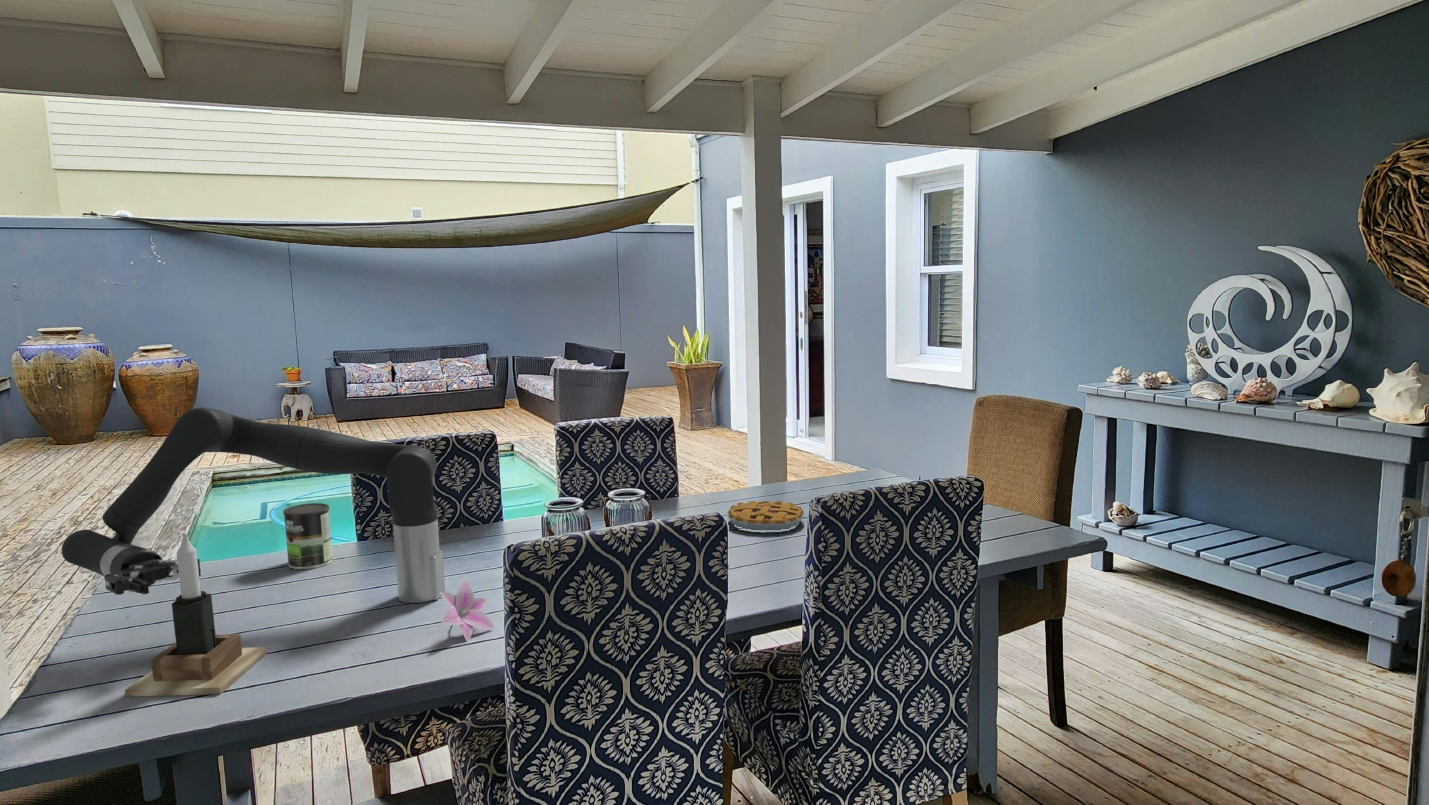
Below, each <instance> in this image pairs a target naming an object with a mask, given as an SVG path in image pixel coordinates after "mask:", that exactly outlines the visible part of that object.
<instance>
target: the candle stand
mask: <svg viewBox="0 0 1429 805" xmlns="http://www.w3.org/2000/svg"><path fill="white" fill-rule="evenodd" d="M216 644H217V646H216V647H215V648H213V649H212V650H211V651H210V652H208V653H207V654H201V655H177V647H176V641H175V642H174V643H172V644H171V645H170V646H168V647H166V648H165V649H164V650H163V651H161V652H159V653H158V654H157V655H155V656H154V657H153V658H151V659H150V661H151V669H152V670H150V671H149V672H147V673H146V674H144V675H143V676H142V677H141V678H140V679H139V678H138V680H137V681H135V682H133V683H132V684H131V685H130V686H128V687H127V688H125V689H124V695H125V697H126V698H129V697H161V696H163V697H164V696H166V697H167V696H169V697H170V696H198V695H199V696H200V695H222V694H223V693H224V692H225V691H226V690H227V689H229V687H230V686H232V685H233V684H234V683H235V682H236V681H238V680H239V679H240V678H241V677H242V676H243V675H244V674H246V673H247V672H248V671H249V670H250V669H251V668H252V667H254V666H255V664H257V663H258V662H259V661H260V660H261V659H262V658H264V657H266V655H267V654H268V648H267V646H263V647H262V646H261V647H242V638H241V634H240V633H235V634H233V633H232V634H229V633H228V634H227V633H226V634H216Z"/></svg>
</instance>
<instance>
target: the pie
mask: <svg viewBox="0 0 1429 805" xmlns="http://www.w3.org/2000/svg"><path fill="white" fill-rule="evenodd" d="M726 514H727V518H728V519H729V520H730V521H731V522H730V523H732V525H733V524H734V525H736V526H738V527H742V528H745V529H751V530H781V529H789V528H791V527H793V526H796V525H797V524H798V523H799V522H800V523H801V521H802V519H803V518H804V517H805V513H804V510H803V509H802V507H801V506H800V505H795V504H794V503H792V502H783V501H781V500H776V501H769V500H762V501H755V500H752V501H751V500H750V501H748V502H738V503H737V504H735V505H734V504H733V505H731V506H730V509H728V511H727V513H726ZM800 523H799V524H800Z"/></svg>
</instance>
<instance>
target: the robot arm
mask: <svg viewBox="0 0 1429 805" xmlns="http://www.w3.org/2000/svg"><path fill="white" fill-rule="evenodd" d="M204 453H226V454H237V455H246V456H252V457H257V458H261V459H263V460H265V461H268V462H272V463H275V464H277V465H280V466H283V467H285V468H286V467H287V468H291V469H294V470H295V469H296V470H299V471H305V472H309V473H310V472H311V473H316V474H326V475H348V474H351V475H352V474H364V475H365V474H366V475H372V476H373V475H374V476H379V477H382V478H386V486H387V496H388V497H387V498H388V506H389V512H390V514H391V517H392V526H393V543H394V554H395V556H394V557H395V567H396V568H395V570H396V571H395V572H396V582H397V583H396V584H397V595H398V601H400V602H402V603H407V604H419V603H420V604H421V603H426V602H429V601H436V600H437V601H438V600H439V598H440V597H442V596H441V594H440V592H445V591H446V585H445V583H446V581H445V567H444V565H445V564H444V552H443V550H442V549H440V537H439V520H438V509H437V506H436V504H435V501H434V488H433V478H434V476H435V474H436V472H437V470H438V469H437V468H438V464H437V459H436V458H435V455H433V454H432V452H431V451H429V450H428V449H427V448H424V447H422V446H417V445H411V444H409V445H408V444H407V445H406V444H397V443H388V442H387V443H386V442H379V441H378V442H377V441H372V440H368V439H363V438H360V437H356V436H353V435H349V434H343V433H340V432H339V433H338V432H335V431H331V430H326V429H320V428H315V427H310V426H302V425H295V424H287V423H286V424H285V423H266V422H260V421H256V420H252V419H248V418H244V417H241V416H238V415H234V414H231V413H228V412H225V411H222V410H219V409H216V408H209V407H195V408H191V409H188V410H186V411H185V412H183V413H182V414H181V415H180V417H178V419H177V420H176V422H175V423H174V425H173V427H172V428H171V430H170V431H169V432H168V434H167V436H166V437H165V439H164V441H163V442H162V444H161V445H160V447H159V448H158V450H157V451H156V452H155V454H154V455H153V456H152V457H151V459H150V460H149V462H148V463H147V464H146V466H145V467H144V468H143V469H142V470H141V472H140V473H139V474H138V475H137V476H136V478H135V479H134V480H132V482H131V483H130V484H129V485H128V486H127V487H126V488H125V490H123V491H122V493H121V494H119V496H118V497H117V498H116V499H115V500H114V501H113V502H112V503H111V504H110V506H109V507H108V508H107V509H106V510H105V512H104V513H103V514H102V516H101V517H102V521H103V523H104V524H105V525H106V526H107V527H108V528H109V529H111V531H113V532H114V533H115V534H114V535H113V537H112V538H111V537H109V536H106V535H104V534H101V533H99V532H96V531H94V530H91V529H86V528H85V529H80V530H76V531H74V532H72V533H70V534H69V535H68V536H67V537H66V539H64V541H63V542H62V544H61V545H62V546H61V555H62V557H63V560H65V561H66V562H67V563H69V564H71V565H75V566H77V567H80V568H81V569H85V570H88V571H91V572H93V573H96V574H98V575H100V576H102V577H104V583H105V590H107V591H109V592H111V593H113V594H115V595H117V596H120V595H123V594H125V592H126V591H128V593H136V594H142V595H147V594H149V593H150V590H149V589H150V587H151V586H152V585H154V584H155V583H157V582H162V581H170V580H171V581H172V580H177V579H180V578H179V569H178V560H177V559H174V560H173V559H171V560H167V559H166V560H164V559H163V558H162V557H161V556H160V554H158V553H157V552H156V551H154V550H150V549H148V548H146V547H142V546H140V545H138V544H137V545H136V544H132V542H134V539H135V537H136V536H137V534H138V532H139V531H140V529H141V528H142V527H143V526H144V525H145V524H146V522H147V521H149V520H150V519H151V517H152V516H154V514H155V513H156V511H157V510H158V509H160V507H161V505H162V504H163V503H164V501H165V500H166V498H167V496H168V494H169V493H170V491H171V489H172V487H173V486H174V485H175V482H176V480H177V479H178V478H179V477H180V475H181V474H182V473H183V472H184V471H185V469H186V468H188V467H189V465H191V463H193V462H194V461H195V460H196V459H198V458H199V457H200V456H201V455H203V454H204ZM200 560H201V559H200V558H197V562H198V571H199V579H200V577H201V575H202V574H201V572H202V571H201V570H202V569H201V564H200V562H201V561H200ZM171 573H172V574H171Z"/></svg>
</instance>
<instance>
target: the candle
mask: <svg viewBox="0 0 1429 805" xmlns="http://www.w3.org/2000/svg"><path fill="white" fill-rule="evenodd" d="M181 536H182V538H181V543H180V546H179V548H178V549H177V551H176V558H177V559H176V560H178V569H179V578H178V579H179V586H180V594H179V595H178V596H176V598H175V599H176V600H175V601H174V602H172V603H171V611H172V620H173V626H174V627H173V628H174V629H173V630H174V636H175V642H176V647H177V655H201V654H207V653H208V652H210V651H211V650H212V649H213V648H215V647H216V646H217V644H216V635H217V634H216V629H215V628H216V626H215V618H214V609H213V597H212V594H210V593H207V592H206V591H203V590H201V583H200V578H199V577H200V576H199V571H198V562H197V559H198V555H197V549H196V548H195V547H194V546H193V545H192V543H191V541H190V539H189V537H188V532H186V531H185V532H182V534H181Z"/></svg>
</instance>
